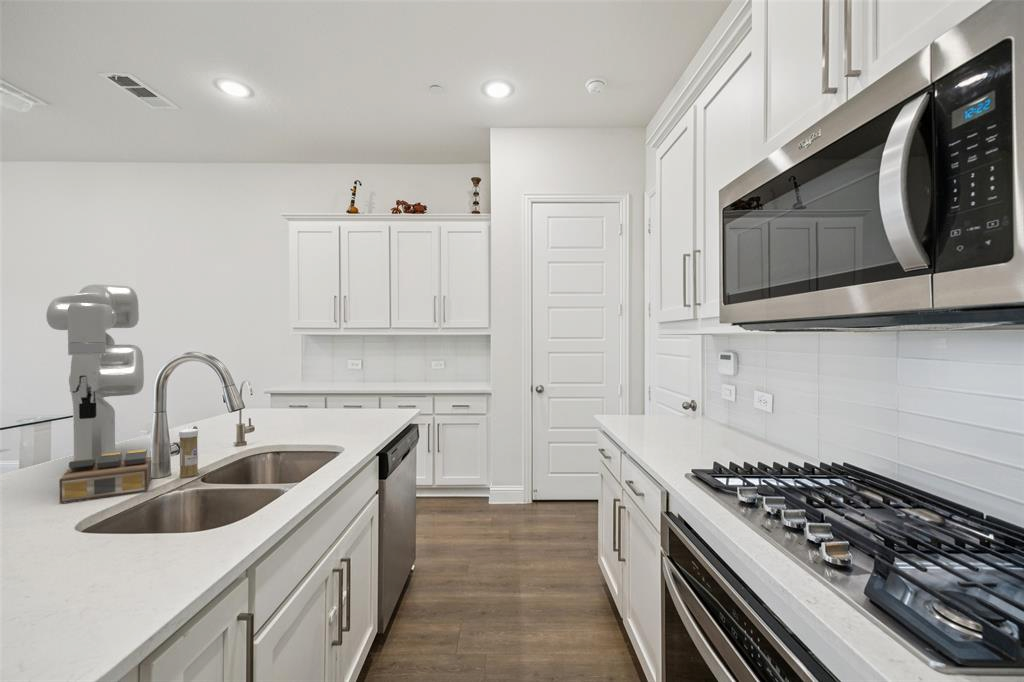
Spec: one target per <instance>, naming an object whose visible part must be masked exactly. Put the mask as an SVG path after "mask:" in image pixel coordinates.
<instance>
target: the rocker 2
mask: <svg viewBox="0 0 1024 682" xmlns="http://www.w3.org/2000/svg"><path fill="white" fill-rule="evenodd" d="M122 458H123V452H122V451H121V452H120V451H119V452H115V453H109V454H101V456H100V458H99V460H98V463H97V468H105V467H114V466H119V465H120V464H121V460H123V459H122Z"/></svg>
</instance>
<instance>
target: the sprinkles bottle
mask: <svg viewBox="0 0 1024 682" xmlns="http://www.w3.org/2000/svg"><path fill="white" fill-rule="evenodd" d="M178 433H179V434H178V436H179V467H180V468H179V477H181V478H190V477H195V476H198V474H199V472H198V463H199V456H198V454H199V453H198V436H199V430H198V429H197V428H185V429H182V430H179V431H178Z"/></svg>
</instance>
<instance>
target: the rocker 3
mask: <svg viewBox="0 0 1024 682" xmlns="http://www.w3.org/2000/svg"><path fill="white" fill-rule="evenodd" d="M147 455H148V449H139V450H132V451H131V450H130V451H126V453H125V457H124V459H123V460H124V465H131V464H140V463H145V461H146V458H148V457H147Z"/></svg>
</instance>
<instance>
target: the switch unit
mask: <svg viewBox="0 0 1024 682" xmlns="http://www.w3.org/2000/svg"><path fill="white" fill-rule="evenodd" d="M151 480H152V456H149V457H146V461H145V463H140V464H131V465H124V459H121V464H120V465H119V466H114V467H105V468H97V463H96V464H94V467H91V468H82V469H73V470H71V468H70V469H69V470H68V471H67V470H66V472H65V473H64V474H63V475H62V476H61V477H60V478H59V487H58V488H59V504H60V503H62V504H65V503H64V502H69V503H71V502H70V501H76V502H80V501H79V500H83V501H88V500H87V499H90V500H95V499H94V498H97V499H102V498H103V497H104V498H111V497H117V495H118V496H125V495H130V494H139V493H145V492H148V489H149V486H150V483H151ZM110 496H111V497H110Z"/></svg>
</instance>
